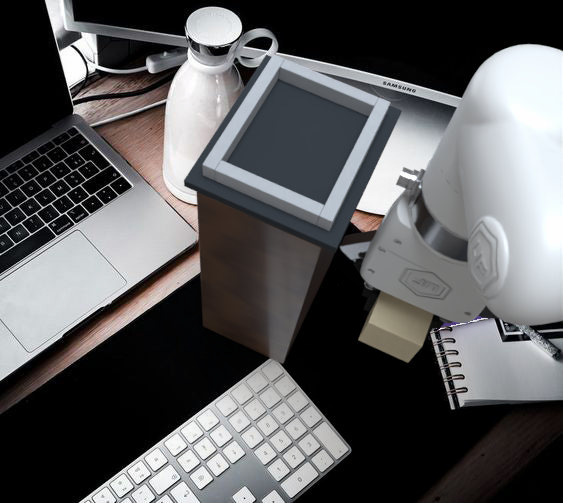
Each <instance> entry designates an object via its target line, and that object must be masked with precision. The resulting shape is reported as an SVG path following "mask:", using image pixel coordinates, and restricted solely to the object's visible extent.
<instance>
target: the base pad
mask: <svg viewBox="0 0 563 503" xmlns="http://www.w3.org/2000/svg"><path fill="white" fill-rule="evenodd" d="M401 114H402V109H399V108H398V107H395V106H393V105H391V101H389V100H386V99H384V98H381V97H379V96H376V95H374V94H372V93H369V92H366V91H364V90H362V89H359V88H357V87H355V86H352V85H350V84H347V83H345V82H342V81H340V80H337V79H334V78H333V77H330V76H328V75H326V74H323V73H321V72H318V71H315V70H314V69H311V68H308V67H306V66H303V65H301V64H299V63H296V62H295V61H291V60H289V59H287V58H284V57H281V56H279V55H277V54H273V55H268V54H265V55H264V57H263V59H262V60H261V61H260V63H259V65H258V66H257V68H256V70H255V71H254V72H253V74H252V76H251V77H250V79H249V80H248V82H247V83H246V85H245V86H244V87H243V88H242V90H241V92H240V94H239V95H238V97H237V99H236V100H235V102H234V103H233V104H232V106H231V108H230V109H229V111H228V112H227V113H226V115H225V117H224V118H223V120H222V121H221V123H220V125H219V126H218V127H217V129H216V131H215V132H214V133H213V135H212V136H211V138H210V140H209V141H208V142H207V144H206V146H205V147H204V149H203V150H202V151H201V154H200V155H199V156H198V158H197V159H196V161H195V163H194V164H193V166H192V167H191V168H190V170H189V172H188V173H187V175H186V177H185V178H184V179H183V186H184V187H185V188H187V189H189V190H192V191H194V192H196V193H197V192H199V193H201V194H203V195H205V196H208V197H210V198H212V199H214V200H216V201H219V202H221V203H223V204H225V205H228V206H230V207H232V208H234V209H237V210H239V211H241V212H243V213H246V214H248V215H250V216H252V217H255V218H257V219H259V220H261V221H264V222H266V223H268V224H270V225H273V226H275V227H277V228H279V229H282V230H284V231H286V232H288V233H291V234H293V235H295V236H297V237H299V238H302V239H304V240H306V241H308V242H311V243H313V244H315V245H317V246H320V247H322V248H324V249H326V250H329V251H331V252H333V253H334V254H336V253H337V251H338V248H339V247H340V245H341V243H342V241H343V239H344V237H345V236H344V235H346V231H347V229H348V227H349V225H350V223H351V221H352V218H353V217H354V214H355V212H356V210H357V208H358V206H359V204H360V202H361V200H362V198H363V196H364V193H365V191H366V189H367V187H368V185H369V183H370V180H371V179H372V176H373V175H374V172H375V170H376V167H377V166H378V163H379V161H380V159H381V157H382V155H383V153H384V151H385V149H386V146H387V144H388V142H389V140H390V138H391V135H392V134H393V131H394V129H395V127H396V126H397V124H398V121H399V119H400V116H401Z"/></svg>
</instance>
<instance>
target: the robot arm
mask: <svg viewBox="0 0 563 503" xmlns="http://www.w3.org/2000/svg"><path fill="white" fill-rule="evenodd" d="M439 140H440V141H439V143H438V145H437V146H436V147H435V148H436V149H435V150H434V152H433V154H432V156H431V158H430V160H428V163H427V165H426V166H425V168H420V170H418V169H415V168H414V169H413V170H412V169H409V168H407V167H405V166H403V167H402V170H401V172H400V174H399V177H398V178H397V181H396V183H395V185H396V186H399V187H400V188H403V189H404V190H403V191H402V192H401V193H400V194H399V196H398V197H397V198H396V199H395V200H394V202H393V203H392V204H391V205H390V207H389V208H388V210H387V212H386V213H385V214H384V216H383V218H382V219H381V221H380V223H379V225H378V226H377V229H372V230H367V231H362V232H356V233H351V234H345V236H343V238H342V241H341V243H340V245H339V250H340V251H341V252H342V253H343V254H344V255H345V256H346V257H347V258H348V259H349V260H350V261H353V266H354V267H355V269H356V270H357V271H358V273H359V274H360V276H361V278H362V279H363V280H364V282H363V286H364V288H363V291H362V293H361V296H362V297H365V298H367V299H366V301H365V304H364V307H363V310H364V311H366V312H370V311H371V309H372V307H373V305H374V304H375V302H376V300H377V298H378V296H379V294H380V292H381V291H383V292H385V293H387V294H390V295H392V296H394V297H396V298H399V299H401V300H403V301H405V302H407V303H410V304H412V305H414V306H416V307H419V308H421V309H423V310H426V311H428V312H430V313H433V314H434V315H433V318H432V321H431V323H430V326H429V329H428V332H427V335H426V337H425V338H427V337H428V336H429V334H431V332H432V331H433V330H434V329H436V328H437V329H440V328H441V326H442V325H443V324H444V323H452V322H457V323H468V322H470V321H472V320H474V319H475V318H477V316H481V318H492V319H493V320H500V321H503V322H505V323H508V324H511V325H514V326H521V327H522V326H524V327H525V326H526V327H528V326H539V325H540V326H542V325H547V324H552V323H558V322H563V50H562V49H558V48H555V47H551V46H547V45H542V44H531V43H527V44H525V43H524V44H517V45H512V46H509V47H507V48H504V49H501V50H499V51H497V52H495V53H493V55H491V56H490V57H488V58H486V60H484V62H483V63H482V64H481V65H480V66H479V67H478V69H477V70H476V72H475V73H474V75H473V76H472V78H471V79H470V81H469V83H468V85H467V87H466V89H465V90H464V93H463V95H462V98H461V99H460V101H459V103H458V105H457V107H456V108H455V110H454V112H453V115H452V116H451V119H450V121H449V122H448V124H447V127H446V128H445V130H444V132H443V134H442V137H441V138H440V139H439ZM492 319H491V320H492Z"/></svg>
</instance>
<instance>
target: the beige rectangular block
mask: <svg viewBox="0 0 563 503" xmlns="http://www.w3.org/2000/svg"><path fill="white" fill-rule="evenodd" d="M433 315H434V314H433V313H430V312H428V311H426V310H423V309H421V308H419V307H416V306H414V305H412V304H410V303H407V302H405V301H403V300H401V299H399V298H396V297H394V296H392V295H390V294H387V293H385V292H383V291H381V292H380V294H379V296H378V298H377V300H376V302H375V304H374V305H373V307H372V309H371V311H370V310H369V311H368V315H367V317H366V320H365V322H364V324H363V327H362V329H361V332H360V334H359V335H358V336H359V337H358V341H359V342H361V343H364V344H366V345H368V346H370V347H372V348H374V349H377V350H379V351H381V352H383V353H385V354H387V355H390V356H392V357H394V358H396V359H398V360H401V361H403V362H405V363H409V362H411V360H412V359H413V358H414V357H415V355H416V354H417V353H418V352H419V351H420V350H421V349H422V348H423V345H424V342H425V340H426V338H427V337H426V335H427V332H428V329H429V326H430V323H431V321H432V318H433Z"/></svg>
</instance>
